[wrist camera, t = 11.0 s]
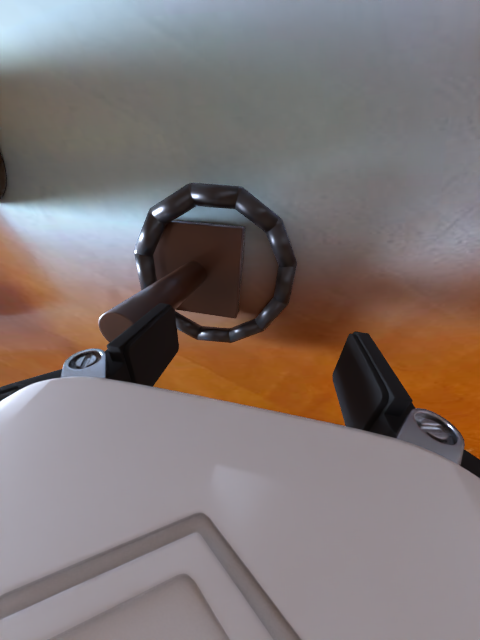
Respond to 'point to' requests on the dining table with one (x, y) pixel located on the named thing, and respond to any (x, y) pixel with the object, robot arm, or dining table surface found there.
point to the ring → (250, 209)
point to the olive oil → (2, 177)
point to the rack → (187, 275)
